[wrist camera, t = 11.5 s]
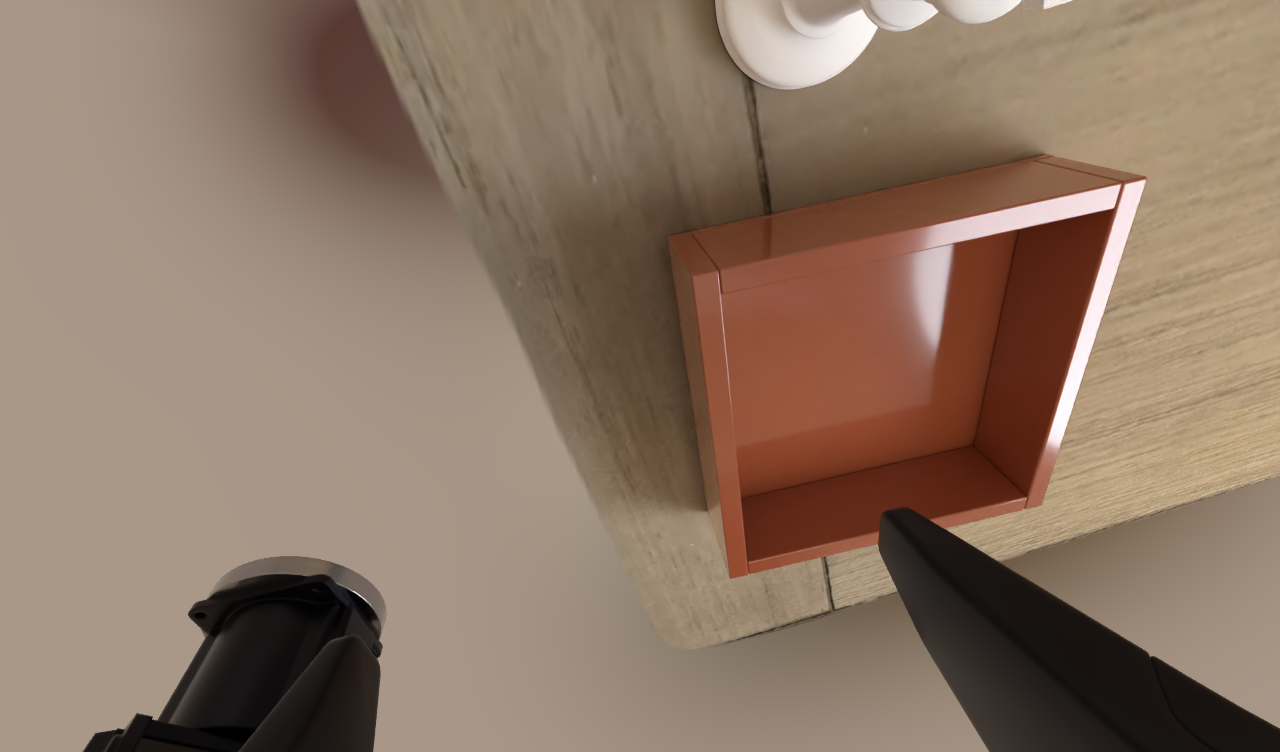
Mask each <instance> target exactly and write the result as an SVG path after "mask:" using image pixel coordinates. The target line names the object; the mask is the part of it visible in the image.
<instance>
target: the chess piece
mask: <svg viewBox="0 0 1280 752" xmlns="http://www.w3.org/2000/svg"><path fill="white" fill-rule="evenodd" d="M1021 1H1022V7H1021V11H1030V10H1043V9H1047V8H1050V7H1053V6H1056V5H1060V4H1063V3H1066V2H1069V1H1072V0H715V8H716V17H717V22H718V27H719V31H720V34H721V37H722V40H723V42H724V45H725V47H726V49H727V51H728V53H729V54H730V56H731V58H732V59H733V61H734V62H735V63H736V65H737V66H738V67H739V68H740V69H741V70H742V71H743V72H744V73H745V74H746V75H748V76H749V77H750V78H752V79H753V80H755V81H756V82H758V83H760V84H762V85H765V86H768V87H771V88H775V89H783V90H792V89H800V88H804V87H808V86H813V85H816V84H819V83H822V82H824V81H826V80H828V79H830V78H832V77H834V76H835V75H837V74H839V73H840V72H841V71H843V70H844V69H845V68H847V67H848V66H849V65H850V64H851V63H852V62H853V61H854V60H855V59H856V58H857V57H858V56H859V55H860V54H861V52H862V51H863V50H864V49H865V47H866V46H867V45H868V43H869V42H870V40H871V39H872V37H873V35H874V34H875V32H876V30H877V28H878V27H880V28H882V29H884V30H888V31H894V32H898V31H905V30H909V29H912V28H914V27H917V26H919V25H920V24H922V23H924V22H925V21H926V20H928V19H930V18H931V17H932V16H934V15H935V14H936V13H937V12H938V11H939V12H941V13H942V14H944V15H945V16H947V17H949V18H950V19H952V20H955V21H957V22H961V23H966V24H979V23H985V22H988V21H991V20H994V19H996V18H998V17H1000V16H1002V15H1004V14H1006V13H1007V12H1009V11H1010V10H1011V9H1013V8H1014V7H1015V6H1016V5H1018V4H1019V3H1020V2H1021Z"/></svg>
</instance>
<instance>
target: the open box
mask: <svg viewBox="0 0 1280 752" xmlns="http://www.w3.org/2000/svg"><path fill="white" fill-rule="evenodd" d="M1146 181H1147V177H1146V176H1141V175H1137V174H1132V173H1128V172H1123V171H1118V170H1114V169H1109V168H1105V167H1100V166H1096V165H1091V164H1086V163H1082V162H1077V161H1073V160H1068V159H1064V158H1059V157H1054V156H1053V155H1049V154H1046V155H1042V156H1037V157H1032V158H1028V159H1023V160H1019V161H1014V162H1009V163H1005V164H1000V165H995V166H991V167H986V168H981V169H977V170H972V171H968V172H963V173H958V174H954V175H949V176H944V177H940V178H935V179H930V180H926V181H921V182H916V183H912V184H907V185H903V186H898V187H893V188H889V189H884V190H879V191H875V192H870V193H865V194H861V195H856V196H851V197H847V198H842V199H838V200H833V201H828V202H824V203H819V204H814V205H810V206H805V207H800V208H796V209H791V210H786V211H782V212H777V213H773V214H768V215H763V216H759V217H754V218H749V219H745V220H740V221H735V222H731V223H726V224H722V225H717V226H712V227H708V228H703V229H698V230H694V231H689V232H684V233H680V234H675V235H670V236H667V239H668V246H669V253H670V260H671V267H672V273H673V280H674V287H675V294H676V301H677V307H678V314H679V321H680V328H681V335H682V341H683V348H684V355H685V362H686V369H687V375H688V382H689V389H690V396H691V403H692V409H693V416H694V423H695V430H696V437H697V443H698V450H699V457H700V464H701V471H702V477H703V484H704V491H705V498H706V504H707V511H708V515H709V518H710V521H711V524H712V527H713V530H714V533H715V536H716V539H717V542H718V545H719V548H720V551H721V554H722V557H723V560H724V563H725V565H726V568H727V571H728V574H729V577H730V579H732V578H737V577H741V576H745V575H748V573H749V574H752V573H757V572H761V571H765V570H769V569H774V568H778V567H782V566H786V565H791V564H795V563H799V562H803V561H808V560H812V559H816V558H820V557H825V556H829V555H833V554H837V553H842V552H846V551H850V550H854V549H859V548H863V547H867V546H871V545H876V544H878V538H879V528H880V518H881V514H882V513H883V512H884V511H885V510H889V509H894V508H898V507H908V508H911V509H913V510H914V511H916V512H917V513H919V514H921V515H922V516H924V517H926V518H927V519H929V520H931V521H932V522H934V523H936V524H937V525H939V526H941V527H942V528H948V527H952V526H957V525H961V524H965V523H969V522H974V521H978V520H982V519H986V518H991V517H995V516H999V515H1003V514H1008V513H1012V512H1016V511H1020V510H1023V509H1028V508H1033V507H1037V506H1040V505H1042V502H1043V499H1044V496H1045V493H1046V490H1047V487H1048V484H1049V481H1050V478H1051V475H1052V471H1053V468H1054V465H1055V462H1056V459H1057V456H1058V453H1059V450H1060V447H1061V444H1062V441H1063V437H1064V434H1065V431H1066V428H1067V425H1068V422H1069V419H1070V416H1071V413H1072V410H1073V407H1074V404H1075V400H1076V397H1077V394H1078V391H1079V388H1080V385H1081V382H1082V379H1083V376H1084V373H1085V370H1086V366H1087V363H1088V360H1089V357H1090V354H1091V351H1092V348H1093V345H1094V342H1095V339H1096V336H1097V333H1098V329H1099V326H1100V323H1101V320H1102V317H1103V314H1104V311H1105V308H1106V305H1107V302H1108V299H1109V295H1110V292H1111V289H1112V286H1113V283H1114V280H1115V277H1116V274H1117V271H1118V268H1119V265H1120V262H1121V258H1122V255H1123V252H1124V249H1125V246H1126V243H1127V240H1128V237H1129V234H1130V231H1131V228H1132V225H1133V221H1134V218H1135V215H1136V212H1137V209H1138V206H1139V203H1140V200H1141V197H1142V194H1143V191H1144V187H1145V184H1146Z"/></svg>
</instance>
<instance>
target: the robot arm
mask: <svg viewBox="0 0 1280 752" xmlns="http://www.w3.org/2000/svg"><path fill="white" fill-rule="evenodd" d="M878 546H879V551H880V554H881V556H882V559H883V561H884V563H885V565H886V567H887V569H888V571H889V573H890V575H891V577H892V580H893V582H894V584H895V586H896V588H897V590H898V592H899V594H900V596H901V598H902V600H903V602H904V605H905V607H906V609H907V611H908V613H909V615H910V617H911V619H912V621H913V623H914V626H915V628H916V630H917V632H918V633H919V635H920V637H921V639H922V641H923V643H924V645H925V647H926V648H927V650H928V652H929V653H930V655H931V657H932V658H933V660H934V662H935V663H936V665H937V667H938V668H939V670H940V672H941V673H942V675H943V677H944V678H945V680H946V681H947V683H948V685H949V686H950V688H951V690H952V691H953V693H954V695H955V696H956V698H957V699H958V701H959V703H960V705H961V706H962V708H963V709H964V711H965V713H966V714H967V716H968V718H969V719H970V721H971V723H972V724H973V726H974V727H975V729H976V731H977V732H978V734H979V736H980V737H981V739H982V741H983V742H984V744H985V746H986V747H987V749H988V750H989V752H1280V728H1278V727H1276V726H1274V725H1272V724H1270V723H1269V722H1267V721H1265V720H1263V719H1261V718H1260V717H1258V716H1256V715H1254V714H1252V713H1250V712H1249V711H1247V710H1245V709H1243V708H1241V707H1239V706H1237V705H1236V704H1234V703H1233V702H1231V701H1229V700H1227V699H1226V698H1224V697H1222V696H1221V695H1219V694H1217V693H1216V692H1214V691H1212V690H1210V689H1209V688H1207V687H1205V686H1204V685H1202V684H1200V683H1198V682H1197V681H1195V680H1193V679H1192V678H1190V677H1188V676H1187V675H1185V674H1183V673H1182V672H1180V671H1178V670H1177V669H1175V668H1173V667H1172V666H1170V665H1168V664H1167V663H1165V662H1163V661H1162V660H1160V659H1158V658H1157V657H1155V656H1151V657H1150V656H1149V654H1148V652H1146V651H1145V650H1143V649H1142V648H1140V647H1138V646H1137V645H1135V644H1133V643H1132V642H1130V641H1128V640H1127V639H1125V638H1123V637H1122V636H1120V635H1118V634H1117V633H1115V632H1113V631H1112V630H1110V629H1109V628H1107V627H1105V626H1103V625H1102V624H1100V623H1099V622H1097V621H1095V620H1094V619H1092V618H1091V617H1089V616H1087V615H1086V614H1084V613H1082V612H1081V611H1079V610H1077V609H1076V608H1074V607H1072V606H1071V605H1069V604H1067V603H1066V602H1064V601H1063V600H1061V599H1059V598H1057V597H1056V596H1054V595H1053V594H1051V593H1049V592H1048V591H1046V590H1044V589H1043V588H1041V587H1039V586H1038V585H1036V584H1035V583H1033V582H1031V581H1030V580H1028V579H1026V578H1025V577H1023V576H1021V575H1020V574H1018V573H1016V572H1015V571H1013V570H1011V569H1010V568H1008V567H1006V566H1005V565H1003V564H1002V563H1000V562H998V561H997V560H995V559H993V558H992V557H990V556H988V555H987V554H985V553H983V552H982V551H980V550H978V549H977V548H975V547H974V546H972V545H970V544H969V543H967V542H965V541H964V540H962V539H960V538H959V537H957V536H955V535H954V534H952V533H950V532H949V531H947V530H945V529H944V528H942V527H941V526H939V525H937V524H936V523H934V522H932V521H931V520H929V519H927V518H926V517H924V516H922V515H921V514H919V513H917V512H916V511H914V510H913V509H911V508H908V507H898V508H894V509H889V510H885V511H884V512H883V513H882V514H881V518H880V528H879V538H878ZM188 616H189V617H190V618H191V619H192V620H193V621H194V622H195V623H196V624H197V625H198V626H199V627H200V628H201V629H202V630H203V631H204V632H205V633H206V634H207V636H206V638H205V640H204V641H203V643H202V645H201V647H200V648H199V650H198V652H197V653H196V655H195V657H194V659H193V660H192V662H191V664H190V666H189V667H188V669H187V671H186V672H185V674H184V676H183V677H182V679H181V681H180V683H179V685H178V686H177V688H176V689H175V691H174V693H173V695H172V696H171V698H170V700H169V702H168V703H167V705H166V707H165V708H164V710H163V712H162V714H161V715H160V717H159V719H158V720H152V718H153V717H152V716H148V715H143V714H138V713H137V714H136V715H135V716H134V718H133V719H132V720H131V722H130V723H129V724H128V725H127V727H126V728H125V729H119V728H118V729H117V730H113V731H106V732H100V733H95V735H94V736H93V737H92V739H91V740H90V741H89V743H88V744H87V746H86V747H85V749H84V751H83V752H373V748H374V738H375V727H376V717H377V716H376V715H377V706H378V696H379V685H380V665H379V662H378V660H377V658H378V657H380V655H381V651H382V648H383V646H382V644H381V643H380V641H379V640H378V639H377V637H376V636H375V635H374V633H373V632H372V631H371V629H370V628H369V627H368V625H367V624H366V623H365V621H364V620H363V619H362V617H361V616H360V615H359V613H358V612H357V611H356V609H355V608H354V607H353V605H352V604H351V603H350V601H349V600H348V599H347V597H346V596H345V595H344V593H343V592H342V591H341V589H340V588H339V587H338V585H337V584H336V583H335V581H334V580H333V579H332V578H331V577H330V576H328V575H325V574H316V575H312V576H308V577H303V578H299V579H295V580H290V581H286V582H281V583H277V584H273V585H268V586H264V587H260V588H255V589H251V590H247V591H242V592H238V593H234V594H229V595H225V596H220V597H216V598H212V599H207V600H203V601H199V602H197V603H195V604H194V605H193V607H192V608H191V610H190V611H189V613H188Z"/></svg>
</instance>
